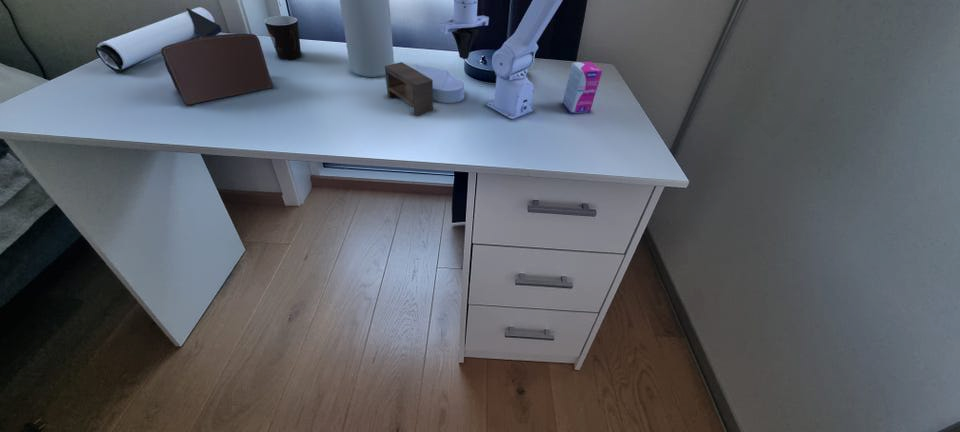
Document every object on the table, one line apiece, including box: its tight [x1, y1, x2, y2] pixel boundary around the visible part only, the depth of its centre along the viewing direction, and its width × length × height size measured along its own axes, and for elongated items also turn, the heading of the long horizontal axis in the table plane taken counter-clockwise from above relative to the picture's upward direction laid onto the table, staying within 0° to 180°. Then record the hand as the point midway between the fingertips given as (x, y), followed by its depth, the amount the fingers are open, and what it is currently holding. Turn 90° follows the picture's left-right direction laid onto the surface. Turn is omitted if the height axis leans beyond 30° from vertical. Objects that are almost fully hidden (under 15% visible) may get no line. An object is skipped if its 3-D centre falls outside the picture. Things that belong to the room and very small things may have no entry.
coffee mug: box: [263, 15, 302, 61], centre depth 114 cm, size 12×9×10 cm
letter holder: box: [160, 33, 274, 107], centre depth 95 cm, size 10×20×14 cm, turn 130°
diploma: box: [95, 6, 223, 74], centre depth 111 cm, size 35×9×14 cm
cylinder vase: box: [339, 0, 395, 78], centre depth 107 cm, size 12×12×25 cm
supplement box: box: [561, 61, 603, 114], centre depth 101 cm, size 6×6×12 cm
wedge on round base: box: [414, 64, 465, 104], centre depth 104 cm, size 9×7×13 cm
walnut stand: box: [385, 62, 434, 117], centre depth 98 cm, size 13×5×8 cm, turn 42°
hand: (463, 57), depth 104 cm, fingers closed
